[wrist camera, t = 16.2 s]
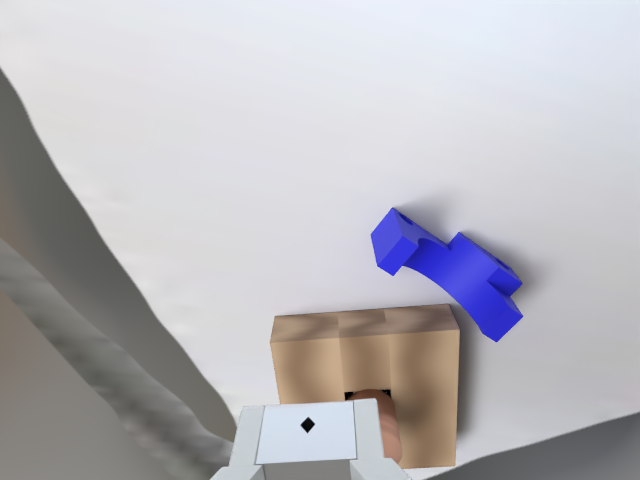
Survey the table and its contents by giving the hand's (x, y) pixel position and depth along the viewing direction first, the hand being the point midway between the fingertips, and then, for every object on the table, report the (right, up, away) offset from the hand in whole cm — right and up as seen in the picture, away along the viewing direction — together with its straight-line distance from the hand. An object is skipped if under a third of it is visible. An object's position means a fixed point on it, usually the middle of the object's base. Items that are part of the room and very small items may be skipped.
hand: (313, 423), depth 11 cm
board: (+5, -10, +36) cm, 38 cm away
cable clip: (+11, +3, +31) cm, 33 cm away
